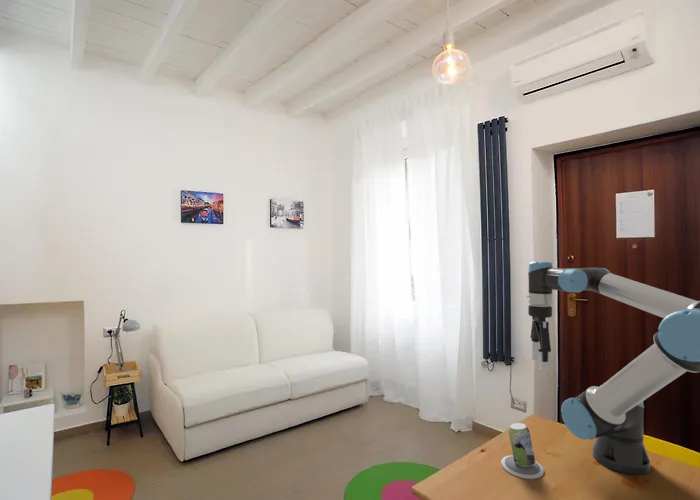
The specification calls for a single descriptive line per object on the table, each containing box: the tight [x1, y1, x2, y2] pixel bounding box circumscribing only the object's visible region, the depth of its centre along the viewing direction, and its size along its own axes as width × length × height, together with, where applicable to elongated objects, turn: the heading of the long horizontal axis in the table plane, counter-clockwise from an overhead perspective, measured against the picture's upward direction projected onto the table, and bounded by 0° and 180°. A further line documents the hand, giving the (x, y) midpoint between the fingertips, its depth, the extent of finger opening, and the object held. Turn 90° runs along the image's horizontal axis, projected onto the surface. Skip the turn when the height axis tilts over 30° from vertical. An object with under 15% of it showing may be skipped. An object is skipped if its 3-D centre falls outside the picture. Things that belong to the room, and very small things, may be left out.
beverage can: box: [508, 422, 536, 467], centre depth 120 cm, size 6×7×12 cm
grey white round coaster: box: [500, 454, 545, 480], centre depth 120 cm, size 12×12×1 cm
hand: (539, 365), depth 137 cm, fingers open, 13 cm apart
